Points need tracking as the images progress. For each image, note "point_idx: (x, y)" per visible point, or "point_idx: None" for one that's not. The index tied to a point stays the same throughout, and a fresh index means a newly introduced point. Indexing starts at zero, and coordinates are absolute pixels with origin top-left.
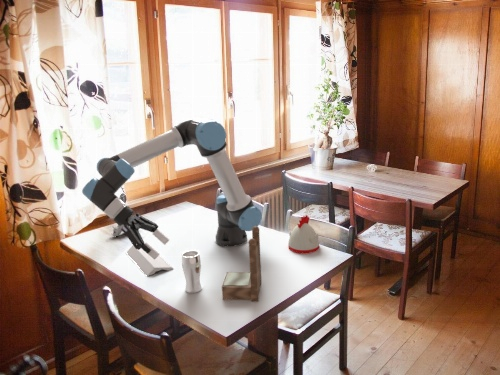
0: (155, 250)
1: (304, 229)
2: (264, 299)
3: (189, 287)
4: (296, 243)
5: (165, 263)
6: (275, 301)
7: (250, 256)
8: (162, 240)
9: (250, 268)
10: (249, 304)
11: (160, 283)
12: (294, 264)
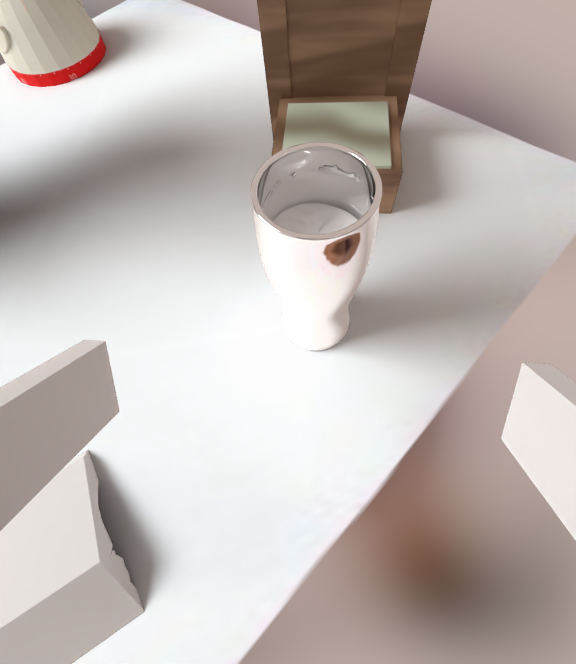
0: (567, 401)
1: None
2: None
3: (346, 318)
4: (69, 34)
5: (24, 507)
6: None
7: None
8: (78, 425)
9: None
10: (416, 144)
11: (243, 492)
12: (168, 70)
